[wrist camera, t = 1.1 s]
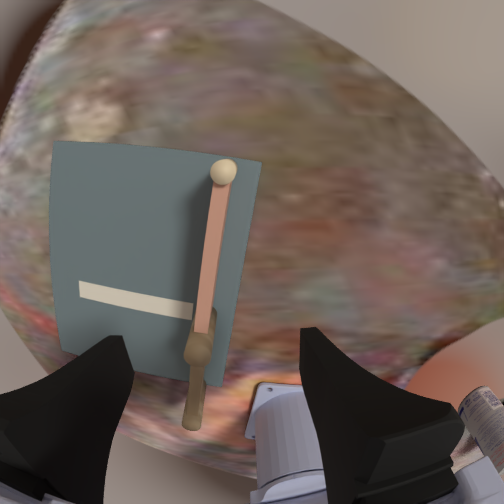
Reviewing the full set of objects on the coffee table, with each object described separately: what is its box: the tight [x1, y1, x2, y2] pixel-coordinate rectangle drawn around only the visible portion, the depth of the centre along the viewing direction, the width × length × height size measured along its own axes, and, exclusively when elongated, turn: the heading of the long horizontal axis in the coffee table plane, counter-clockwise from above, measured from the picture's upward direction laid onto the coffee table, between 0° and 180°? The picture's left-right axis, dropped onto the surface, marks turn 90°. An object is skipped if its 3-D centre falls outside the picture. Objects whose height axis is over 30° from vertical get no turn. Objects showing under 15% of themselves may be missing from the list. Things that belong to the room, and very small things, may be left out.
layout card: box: [49, 141, 262, 387], centre depth 21 cm, size 15×18×1 cm
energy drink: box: [458, 386, 504, 475], centre depth 22 cm, size 5×5×12 cm
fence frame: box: [182, 307, 217, 431], centre depth 20 cm, size 2×8×5 cm, turn 170°
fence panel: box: [194, 159, 238, 334], centre depth 17 cm, size 10×1×4 cm, turn 170°
